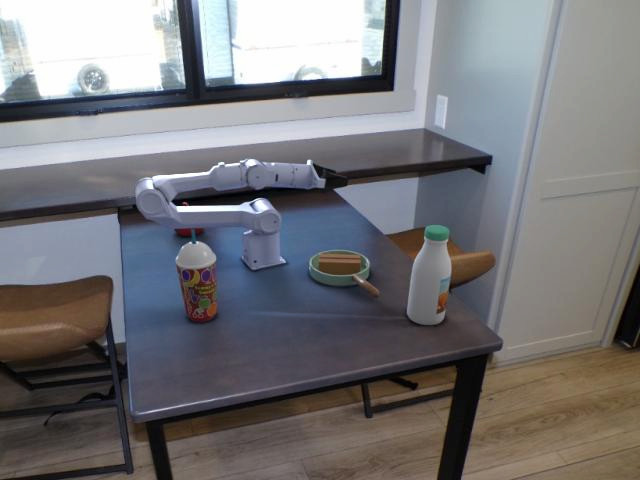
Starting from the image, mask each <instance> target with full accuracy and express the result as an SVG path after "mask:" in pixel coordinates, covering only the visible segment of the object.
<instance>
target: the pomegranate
mask: <svg viewBox="0 0 640 480" xmlns="http://www.w3.org/2000/svg"><path fill="white" fill-rule="evenodd" d="M182 205H183V206H189V205H190V204H188V203H187V202H182ZM192 229H194V232H195V235H198V234H200V233H202V232H203V231H204V230H205V228H184V229H173V231H174V232H175V233H176V234H177V235H178V236H182V237H192V234H191V230H192Z"/></svg>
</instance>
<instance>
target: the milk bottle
mask: <svg viewBox="0 0 640 480" xmlns="http://www.w3.org/2000/svg"><path fill="white" fill-rule="evenodd" d="M450 234H451V233H450V229H449V228H448V227H446V226H444V225H440V224H439V225H438V224H432V225H428V226H426V227H425V229H424V237H423V239H424V243H423V245H422V247H421V249H420V250H419V252H418V253H417V255H416V257H415V259H414V261H413V264H412V269H411V274H410V283H409V289H408V290H409V291H408V298H407V307H406V314H407V316H408V319H409V320H411V322H413V323H415V324H417V325H418V324H419V325H423V326H435V325H438V324H440V323H442V322H443V320H444V319H445V316H446V309H447V304H448V299H449V298H448V297H449V293H450V292H449V291H450V284H451V279H452V278H451V277H452V260H451V257H450V254H449V251H448V246H447V243H448V242H449V237H450Z"/></svg>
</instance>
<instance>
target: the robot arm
mask: <svg viewBox="0 0 640 480" xmlns="http://www.w3.org/2000/svg"><path fill="white" fill-rule="evenodd" d="M348 183H349V177H348V176H345V175H341V174H337V170H335V169H332V168H328V167H326V166H325V167H324V166H321V165H319V164H317V163H314V161H313V160H312V159H307V163H306V164H304V163H290V162H288V163H287V162H265V161H264V162H263V161H262V162H261V161H259V160H257V159H254V158H246V159H244V160H239V162H237V163H229V164H228V163H227V164H225V162H224V161H223V162H218V165H214V166H212V168H211V169H210V170H209V171H207V172H194V173H192V172H191V173H182V174H181V173H179V174H169V175H168V174H167V175H165V174H164V175H154V176H152V177H144V178H141V179H139V180H138V181H137V182H135V185H134V188H133V194H134V196H135V204H136V208H137V210H138V211H139V213H141V214H142V216H143V217H144V218H145V219H146V220H150V221H153V222H154V223H157V224H158V225H161V226H162V227H165V228H166V229H169V230H174V229H184V228H204V229H211V228H213V229H214V228H216V229H217V228H244V229H247V230H248V231H245V232H243V233H242V234H241V250H242V256H241V259H242V261H243V262H244V263H245V264H246V265H247V266H248V267H249V269H250V270H252V271H256V270H260V269H262V268H267V267H268V268H269V267H272V266H277V265H281V264H286V263H287V261H286V260H285V258H283V257H282V256H281V234H280V233H281V231H280V228H281V226H282V224H283V223H282V222H283V218H282V216H281V213H280V212H279V211H278V210H276V208H275V207H274V206H273V204H272V203H271V201H269V199H266V198H263V197H259V198H256V199H254V200H252V201H245V202H243V203H241V204H239V205H238V204H237V205H190V206H184V205H183V206H182V205H181V206H177V205H175V204H174V203H173V202H172V201H173V200H174V198H175V197H176V196H177V195H178V194H179V193H184V192H188V191H195V190H200V189H204V188H213V189H214V190H216V191H217V192H220V191H228V190H235V189H236V190H237V189H242V188H246V187H249V188H252V189H255V191H256V190H257V191H259V190H262V189H263V188H265V187H272V188H290V189H305V190H312V189H315V188H316V189H317V188H318V193H319V194H322V195H323V194H324V195H325V194H327V193H328V192H330V191H332V190H336V189H342V188H345V187H348V185H349V184H348Z"/></svg>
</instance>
